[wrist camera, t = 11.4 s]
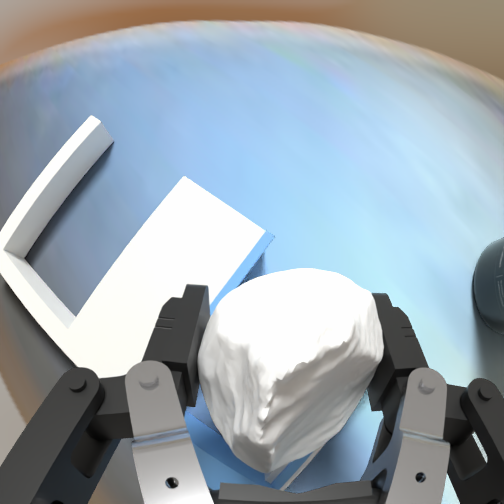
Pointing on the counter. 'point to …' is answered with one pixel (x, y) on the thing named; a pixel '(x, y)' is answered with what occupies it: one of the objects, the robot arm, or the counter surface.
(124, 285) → the white rail frame
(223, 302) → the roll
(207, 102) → the counter surface
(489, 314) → the supplement bottle
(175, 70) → the counter surface
